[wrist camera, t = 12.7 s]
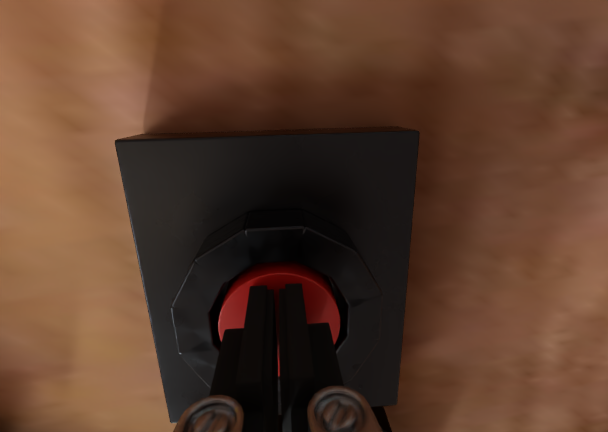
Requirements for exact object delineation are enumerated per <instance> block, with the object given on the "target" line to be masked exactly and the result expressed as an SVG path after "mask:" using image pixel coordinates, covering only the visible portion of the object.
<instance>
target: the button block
mask: <svg viewBox="0 0 608 432" xmlns="http://www.w3.org/2000/svg"><path fill="white" fill-rule="evenodd" d="M419 134H420V133H419V131H417V130H413V129H408V128H402V127H364V128H330V129H297V130H263V131H229V132H196V133H162V134H140V135H135V136H131V137H126V138H122V139H117V140H115V146H116V151H117V156H118V161H119V166H120V171H121V176H122V181H123V186H124V191H125V197H126V202H127V207H128V212H129V217H130V222H131V227H132V232H133V237H134V242H135V247H136V252H137V257H138V262H139V267H140V272H141V277H142V282H143V287H144V292H145V297H146V302H147V307H148V312H149V317H150V322H151V327H152V332H153V337H154V343H155V348H156V353H157V358H158V363H159V368H160V373H161V378H162V383H163V388H164V393H165V398H166V403H167V408H168V413H169V418H170V422H171V423H178V420H179V419H180V417H181V416H182V414H183V413H184V411H185V410H186V409H187V408H189V407H190V406H191V405H192V404H193V403H195V402H197V401H198V400H200V399H202V398H205V397H208V396H209V394H210V390H211V385H212V381H213V377H214V373H215V368H216V364H217V360H218V355H219V351H220V347H221V339H220V336H219V331H218V321H219V315H220V312H221V308H222V304H223V301H224V297H225V294H226V290H227V286H228V283H229V281H230V280H231V279H232V278H234V277H236V276H237V275H239V274H241V273H242V272H244V271H246V270H247V269H249V268H251V267H253V266H254V265H256V264H258V263H276V262H295V261H296V262H298V263H300V264H302V265H304V266H307V267H309V268H311V269H313V270H315V271H317V272H320V273H322V274H324V275H326V276H328V278H329V281H330V283H331V286H332V290H333V293H334V296H335V300H336V303H337V307H338V310H339V315H340V331H339V335H338V338H337V340H336V343H335V345H334V346H335V350H336V355H337V359H338V363H339V368H340V372H341V376H342V380H343V385H344V386H345V387H349V388H351V389H354V390H356V391H358V392H359V393H360V394H361V395H362V396H364V397H365V399H366V400H367V402H368V403H369V405H370V407H377V406H389V405H396V404H397V398H398V386H399V374H400V362H401V350H402V338H403V326H404V314H405V302H406V290H407V278H408V266H409V254H410V242H411V230H412V218H413V206H414V194H415V182H416V170H417V158H418V146H419ZM279 414H282V412H281V395H280V376H278V415H279Z"/></svg>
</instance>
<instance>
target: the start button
mask: <svg viewBox="0 0 608 432" xmlns="http://www.w3.org/2000/svg"><path fill="white" fill-rule="evenodd" d="M296 283H302V289H303V296H304V303H305V311H306V318H307V324H311V323H326V322H328V323H329V325H330V329H331V333H332V338H333V342H334V345H335V343H336V340H337V338H338V335H339V331H340V315H339V310H338V307H337V303H336V300H335V296H334V293H333V290H332V286H331V283H330V281H329V278H328V276H326V275H324V274H322V273H320V272H317V271H315V270H313V269H311V268H309V267H307V266H304V265H302V264H300V263H298V262H296V261H295V262H276V263H258V264H256V265H254V266H253V267H251V268H249V269H247V270H246V271H244V272H242V273H241V274H239V275H237V276H236V277H234V278H232V279H231V280H230V281H229V283H228V286H227V290H226V294H225V297H224V301H223V304H222V308H221V312H220V315H219V321H218V331H219V336H220V339H221V342H222V338H223V334H224V331H225V329H235V328H244V323H245V316H246V309H247V303H248V296H249V289H250V286H262V285H267V289H268V290H270V289H274V301H275V318H276V335H277V352H278V376H280V369H279V289H286V288H285V284H296Z"/></svg>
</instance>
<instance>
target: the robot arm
mask: <svg viewBox="0 0 608 432" xmlns="http://www.w3.org/2000/svg"><path fill="white" fill-rule="evenodd" d="M285 288H286V289H279V369H280V395H281V412H282V429H283V432H386V431H385V430H383V429H382V428H381V427H380V425H379V423H378V421H377V419H376V417H375V415H374V413H373V411H372V409H371V407H370V405H369V403H368V402H367V400H366V399H365V397H364V396H362V395H361V394H360V393H359V392H358V391H356V390H354V389H351V388H349V387H345V386H344V385H343V380H342V376H341V372H340V368H339V363H338V359H337V355H336V350H335V346H334V342H333V338H332V333H331V329H330V325H329V323H328V322H326V323H311V324H307V318H306V311H305V303H304V296H303V289H302V283H296V284H285ZM173 432H278V352H277V335H276V318H275V301H274V289H270V290H268V289H267V285H262V286H250V289H249V296H248V303H247V309H246V316H245V323H244V328H235V329H225V331H224V334H223V338H222V342H221V347H220V351H219V355H218V360H217V364H216V368H215V373H214V377H213V381H212V385H211V390H210V394H209V396H208V397H205V398H202V399H200V400H198V401H197V402H195V403H193V404H192V405H191V406H190V407H189V408H187V409H186V410H185V411H184V413H183V414H182V416H181V417H180V419H179V420H178V423H177V425H176V427H175V429H174V431H173Z"/></svg>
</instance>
